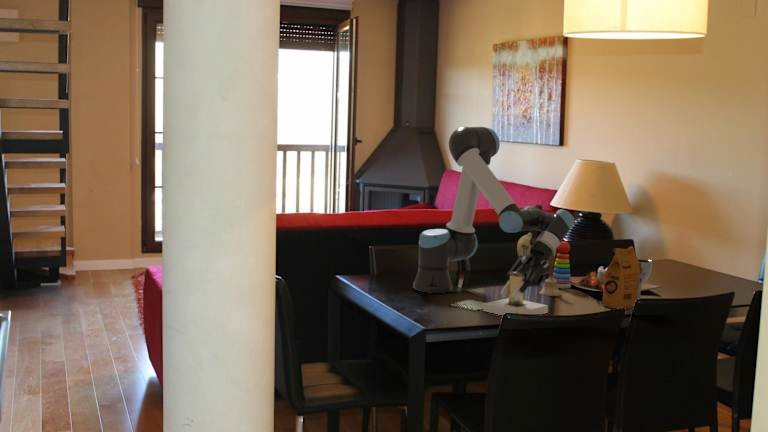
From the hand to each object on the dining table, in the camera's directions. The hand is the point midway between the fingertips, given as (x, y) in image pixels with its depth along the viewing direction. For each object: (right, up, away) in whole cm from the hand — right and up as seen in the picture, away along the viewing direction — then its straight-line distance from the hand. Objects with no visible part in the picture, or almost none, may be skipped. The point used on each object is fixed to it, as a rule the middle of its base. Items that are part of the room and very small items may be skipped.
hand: (508, 296), depth 304 cm
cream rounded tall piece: (+24, +3, +82) cm, 85 cm away
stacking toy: (+29, -1, +52) cm, 59 cm away
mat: (-11, -4, +11) cm, 17 cm away
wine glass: (+55, -4, +33) cm, 64 cm away
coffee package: (+44, -6, +19) cm, 48 cm away
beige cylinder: (+3, -5, +3) cm, 6 cm away
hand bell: (+22, -3, +37) cm, 43 cm away
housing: (+3, -6, +3) cm, 7 cm away
